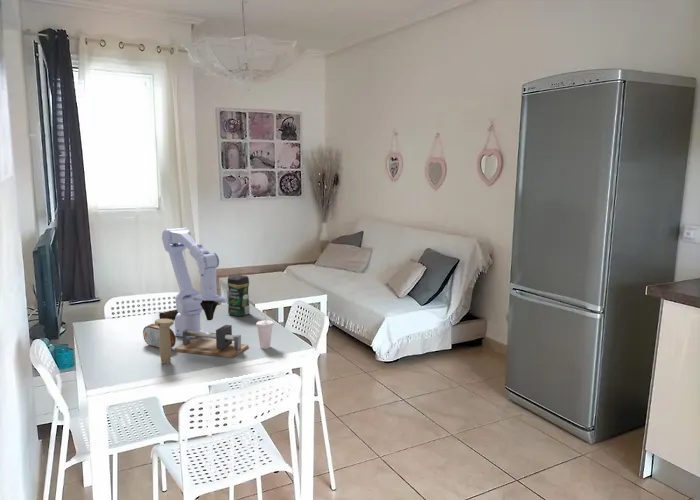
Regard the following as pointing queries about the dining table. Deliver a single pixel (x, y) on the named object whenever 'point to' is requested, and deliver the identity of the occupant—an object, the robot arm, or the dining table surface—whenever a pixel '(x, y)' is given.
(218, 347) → the collar
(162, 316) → the hand tool
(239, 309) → the coffee jar
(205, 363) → the dining table surface
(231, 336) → the silver metal rod
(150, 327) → the tin
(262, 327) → the smoothie
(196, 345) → the base board
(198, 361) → the dining table surface
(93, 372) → the dining table surface
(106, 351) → the dining table surface
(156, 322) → the handle
